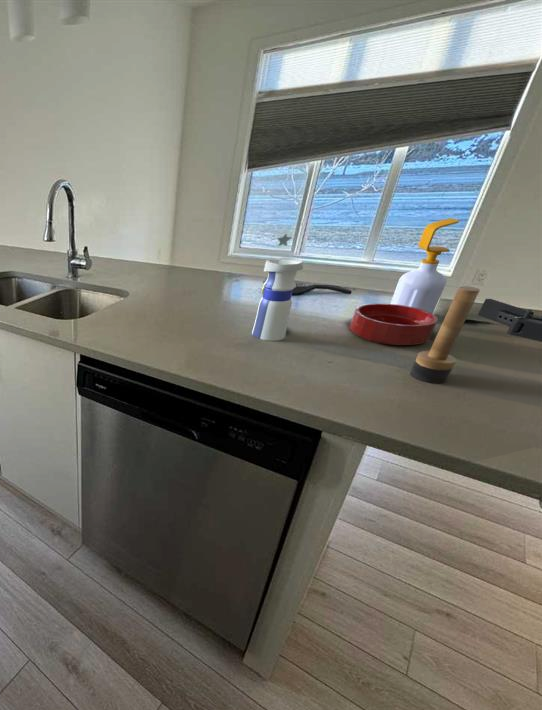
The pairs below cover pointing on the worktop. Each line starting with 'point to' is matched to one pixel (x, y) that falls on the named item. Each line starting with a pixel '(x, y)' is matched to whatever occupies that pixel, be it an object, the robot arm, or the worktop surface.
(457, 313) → the dish brush
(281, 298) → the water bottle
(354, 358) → the worktop surface
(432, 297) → the soap bottle
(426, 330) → the red bowl
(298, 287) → the hairbrush
